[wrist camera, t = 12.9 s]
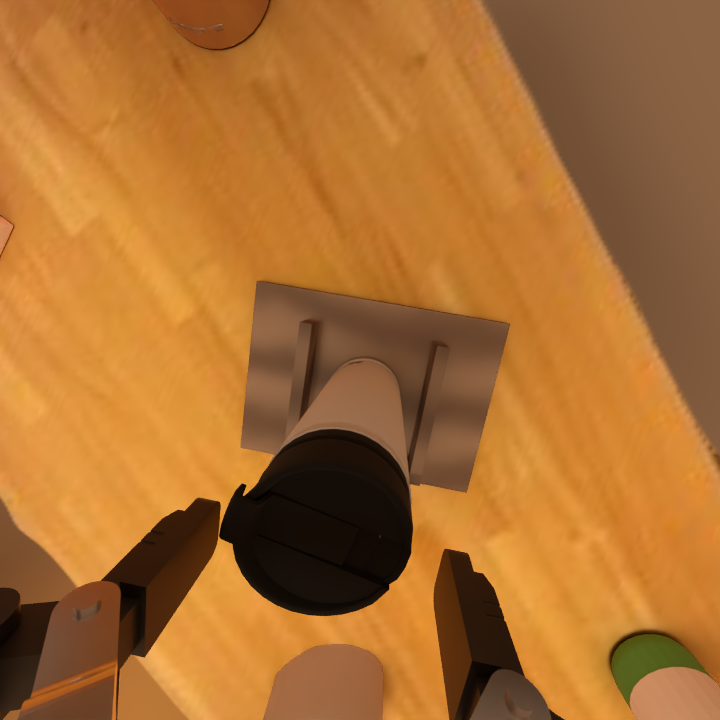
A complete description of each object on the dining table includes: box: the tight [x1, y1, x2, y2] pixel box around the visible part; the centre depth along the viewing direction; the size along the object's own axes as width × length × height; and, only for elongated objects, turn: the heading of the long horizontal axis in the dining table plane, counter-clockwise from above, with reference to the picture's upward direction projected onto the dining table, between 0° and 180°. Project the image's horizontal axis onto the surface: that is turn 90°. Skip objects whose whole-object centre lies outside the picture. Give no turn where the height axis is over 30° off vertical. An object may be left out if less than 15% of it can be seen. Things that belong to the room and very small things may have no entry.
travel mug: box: [219, 357, 413, 616], centre depth 21 cm, size 6×7×20 cm
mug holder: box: [241, 281, 510, 493], centre depth 29 cm, size 16×22×4 cm
